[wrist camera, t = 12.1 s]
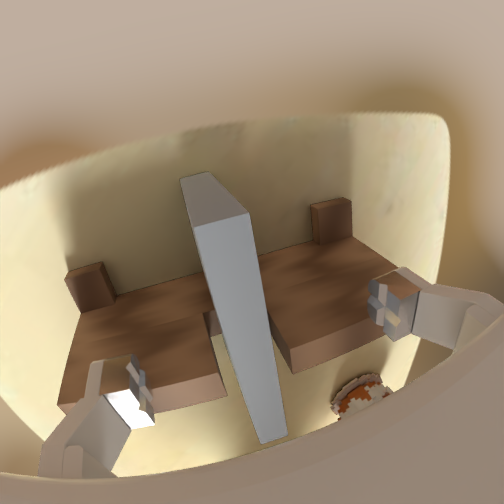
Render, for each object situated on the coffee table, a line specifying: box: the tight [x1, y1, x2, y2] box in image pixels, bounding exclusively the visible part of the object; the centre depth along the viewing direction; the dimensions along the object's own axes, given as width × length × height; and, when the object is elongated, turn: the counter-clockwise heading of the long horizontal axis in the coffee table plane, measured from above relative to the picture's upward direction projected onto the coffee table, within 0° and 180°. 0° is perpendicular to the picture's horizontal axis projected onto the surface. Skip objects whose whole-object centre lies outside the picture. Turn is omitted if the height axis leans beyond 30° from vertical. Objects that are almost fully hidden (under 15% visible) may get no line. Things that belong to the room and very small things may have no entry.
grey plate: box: [180, 171, 288, 444], centre depth 18 cm, size 16×2×10 cm, turn 9°
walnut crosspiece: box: [57, 197, 398, 415], centre depth 18 cm, size 22×8×10 cm, turn 99°
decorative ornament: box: [330, 373, 393, 421], centre depth 29 cm, size 8×8×15 cm
